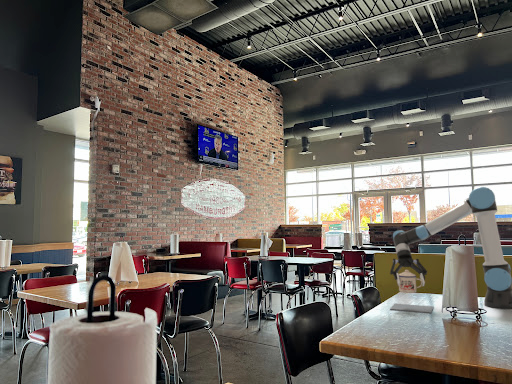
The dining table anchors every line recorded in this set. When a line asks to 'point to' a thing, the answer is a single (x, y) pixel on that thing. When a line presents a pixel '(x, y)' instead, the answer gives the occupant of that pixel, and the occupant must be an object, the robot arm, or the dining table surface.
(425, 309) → the mat
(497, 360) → the dining table surface
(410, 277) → the teacup with lid
